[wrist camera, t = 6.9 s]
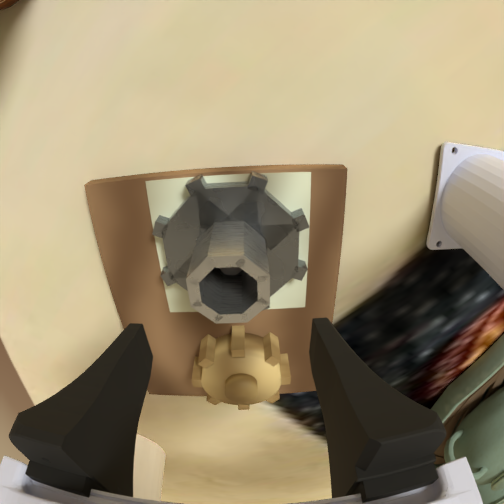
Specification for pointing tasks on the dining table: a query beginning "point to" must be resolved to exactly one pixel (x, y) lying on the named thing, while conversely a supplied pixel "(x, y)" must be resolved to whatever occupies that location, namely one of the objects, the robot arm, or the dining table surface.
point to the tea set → (477, 422)
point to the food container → (7, 3)
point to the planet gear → (231, 247)
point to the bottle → (148, 469)
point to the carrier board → (176, 297)
